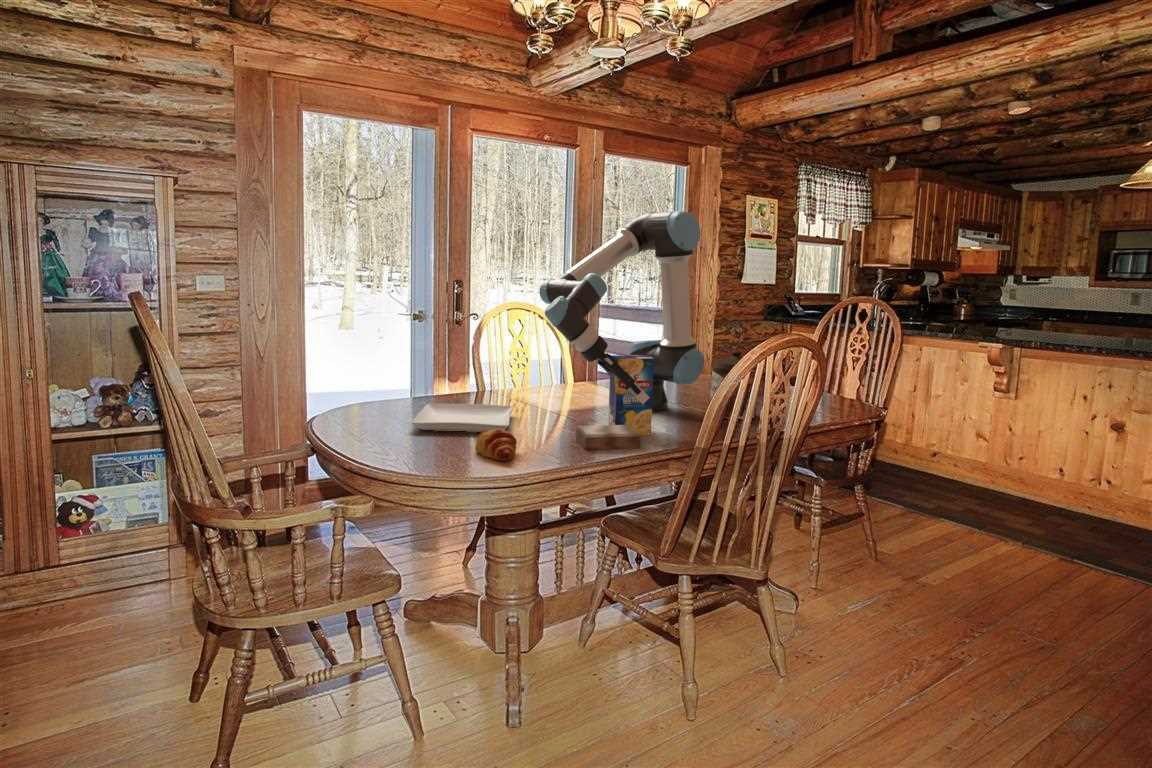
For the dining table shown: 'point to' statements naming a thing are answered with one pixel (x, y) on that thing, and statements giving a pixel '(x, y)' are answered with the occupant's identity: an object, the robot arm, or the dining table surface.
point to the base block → (608, 437)
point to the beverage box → (624, 402)
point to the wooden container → (719, 372)
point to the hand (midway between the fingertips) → (639, 396)
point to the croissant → (496, 444)
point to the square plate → (463, 417)
